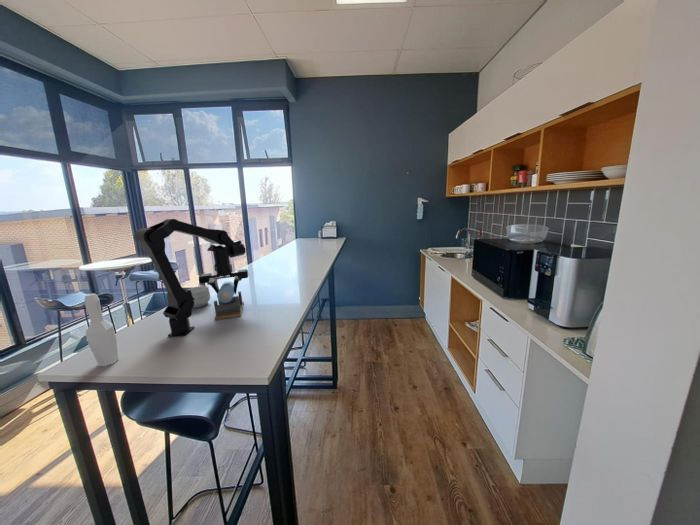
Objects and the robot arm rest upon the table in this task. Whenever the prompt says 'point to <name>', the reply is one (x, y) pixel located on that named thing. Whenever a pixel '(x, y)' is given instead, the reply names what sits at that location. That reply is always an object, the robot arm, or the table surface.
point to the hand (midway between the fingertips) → (227, 295)
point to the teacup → (200, 295)
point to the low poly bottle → (100, 333)
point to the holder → (229, 308)
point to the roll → (226, 292)
